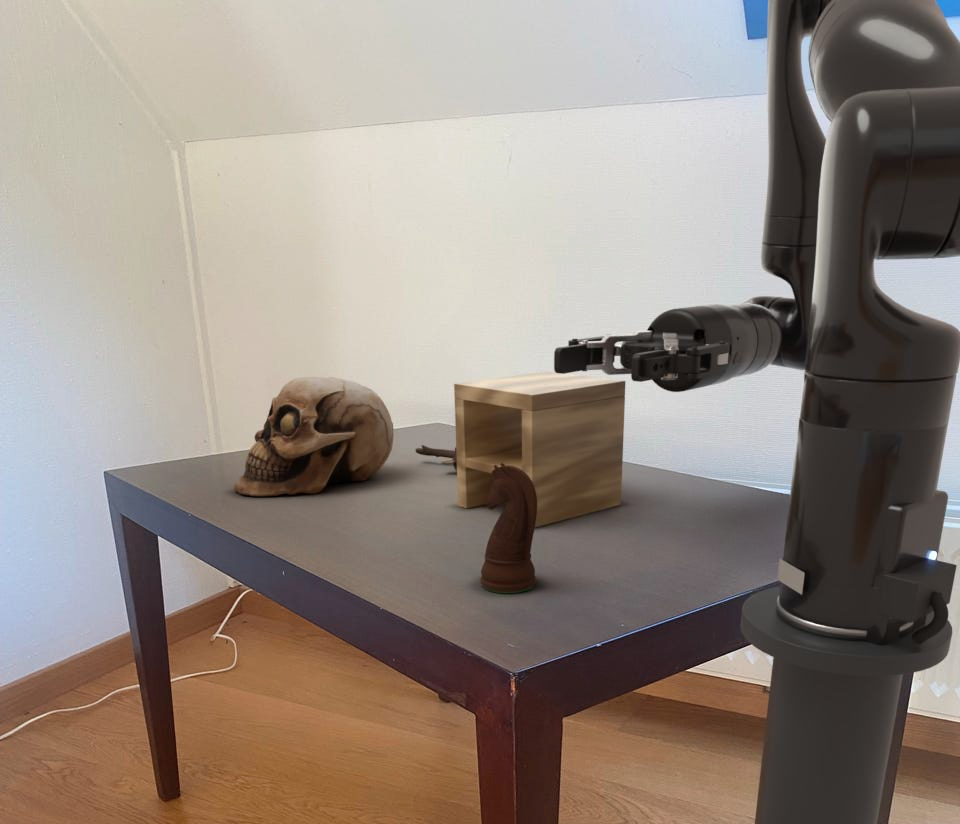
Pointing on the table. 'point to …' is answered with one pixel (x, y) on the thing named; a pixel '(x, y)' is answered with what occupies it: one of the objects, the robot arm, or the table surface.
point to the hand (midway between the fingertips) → (594, 364)
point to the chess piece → (510, 533)
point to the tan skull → (318, 438)
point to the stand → (543, 440)
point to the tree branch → (439, 454)
